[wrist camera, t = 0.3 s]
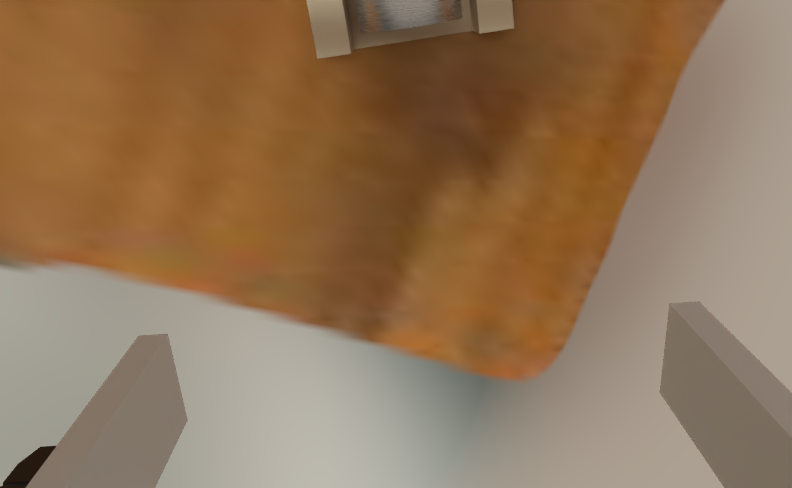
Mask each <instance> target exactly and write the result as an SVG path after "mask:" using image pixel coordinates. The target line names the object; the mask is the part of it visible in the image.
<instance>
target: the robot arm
mask: <svg viewBox="0 0 792 488" xmlns="http://www.w3.org/2000/svg"><path fill="white" fill-rule="evenodd" d="M660 393H661V395H662V397H663V398H664V400H665V401H666V402H667V404H668V405H669V407H670V408H671V410H672V411H673V413H674V414H675V416H676V417H677V418H678V420H679V421H680V423H681V425H682V426H683V427H684V429H685V430H686V432H687V433H688V435H689V436H690V438H691V439H692V441H693V442H694V444H695V445H696V447H697V448H698V449H699V451H700V453H701V454H702V455H703V457H704V458H705V460H706V461H707V463H708V464H709V466H710V467H711V469H712V470H713V472H714V473H715V475H716V476H717V477H718V479H719V481H720V482H721V483H722V485H723V486H724V488H792V393H791V392H790V391H789V390H788V389H787V388H786V387H785V386H784V385H783V384H782V383H781V382H780V381H779V380H778V379H777V378H776V377H775V376H774V375H773V374H772V373H771V372H770V371H769V370H768V369H767V368H766V367H765V366H764V365H763V364H762V363H761V362H760V361H759V360H758V359H757V358H756V357H755V356H754V355H753V354H752V353H751V352H750V351H749V350H748V349H747V348H746V347H745V346H744V345H743V344H742V343H741V342H740V341H739V340H738V339H736V338H735V336H734V335H733V334H731V333H730V331H728V330H727V328H725V327H724V326H723V325H722V324H721V323H720V322H719V321H718V320H717V319H716V318H715V317H714V316H713V315H712V314H711V313H710V312H709V311H708V310H707V309H706V308H705V307H704V306H703V305H702V304H701V303H700V302H684V303H670V304H669V313H668V323H667V331H666V341H665V349H664V359H663V368H662V377H661V386H660ZM186 422H187V416H186V411H185V407H184V403H183V398H182V394H181V390H180V386H179V382H178V377H177V373H176V368H175V364H174V359H173V355H172V350H171V346H170V342H169V337H168V334H159V335H142V336H138V338H137V339H136V340H135V342H134V343H133V344H132V345H131V347H130V348H129V350H128V351H127V352H126V354H125V355H124V356H123V358H122V359H121V360H120V362H119V363H118V364H117V366H116V367H115V368H114V370H113V371H112V372H111V374H110V375H109V376H108V378H107V379H106V380H105V382H104V383H103V385H102V386H101V387H100V389H99V390H98V391H97V393H96V394H95V395H94V397H93V398H92V399H91V401H90V402H89V403H88V405H87V406H86V407H85V409H84V410H83V411H82V413H81V414H80V415H79V417H78V418H77V419H76V421H75V422H74V423H73V425H72V426H71V427H70V429H69V430H68V431H67V433H66V434H65V435H64V437H63V438H62V440H61V441H60V442H59V443H58V445H57V446H46V447H40V448H38V449H37V450H36V451H35V452H33V453H32V454H31V455H29V456H28V457H27V458H25V459H24V460H23V461H21V462H20V463H19V464H18V465H17V466H16V467H15V468H14V470H13V471H12V472H11V474H10V475H9V476H8V477H7V479H6V480H5V481H4V482H3V486H1V487H0V488H155V487H156V484H157V482H158V480H159V478H160V476H161V474H162V472H163V470H164V468H165V466H166V464H167V462H168V459H169V457H170V455H171V453H172V451H173V449H174V447H175V445H176V443H177V441H178V439H179V437H180V435H181V433H182V430H183V428H184V426H185V424H186Z"/></svg>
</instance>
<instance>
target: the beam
mask: <svg viewBox="0 0 792 488" xmlns="http://www.w3.org/2000/svg"><path fill="white" fill-rule="evenodd" d="M306 1H307V6H308V12H309V17H310V22H311V28H312V33H313V38H314V44H315V49H316V54H317V59H320V58H327V57H333V56H339V55H346V54H351V53H352V52H353V51H354V49H360V48H367V47H373V46H379V45H386V44H392V43H399V42H405V41H411V40H418V39H424V38H431V37H437V36H443V35H450V34H456V33H463V32H469V31H474V32H476V33H479V34H481V33H487V32H493V31H500V30H506V29H513V28H514V19H513V6H512V0H461V6H462V16H463V18H461V19H457V20H452V21H447V22H442V23H437V24H431V25H425V26H419V27H413V28H406V29H400V30H393V31H386V32H378V33H368V34H360V31H359V24H358V18H357V12H356V6H355V0H306Z"/></svg>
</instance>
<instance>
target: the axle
mask: <svg viewBox="0 0 792 488" xmlns="http://www.w3.org/2000/svg"><path fill="white" fill-rule="evenodd" d="M355 6H356V12H357V18H358V24H359V31H360V34H368V33H378V32H386V31H393V30H400V29H406V28H413V27H419V26H425V25H431V24H437V23H442V22H447V21H452V20H457V19H461V18H463V16H462V6H461V0H355Z"/></svg>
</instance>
